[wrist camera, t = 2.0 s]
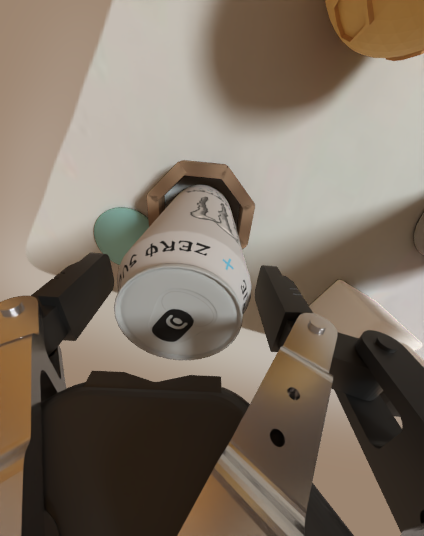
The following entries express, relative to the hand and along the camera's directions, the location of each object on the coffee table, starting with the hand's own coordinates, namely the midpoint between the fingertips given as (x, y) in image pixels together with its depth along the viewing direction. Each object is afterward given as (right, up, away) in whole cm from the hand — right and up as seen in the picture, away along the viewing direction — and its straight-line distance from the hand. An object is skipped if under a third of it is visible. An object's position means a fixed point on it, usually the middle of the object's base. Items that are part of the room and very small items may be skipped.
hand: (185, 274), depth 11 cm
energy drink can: (0, +6, +10) cm, 12 cm away
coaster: (-8, +4, +11) cm, 14 cm away
